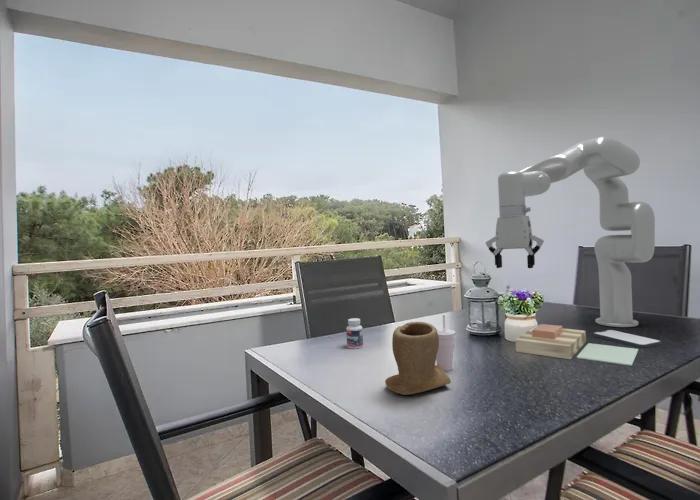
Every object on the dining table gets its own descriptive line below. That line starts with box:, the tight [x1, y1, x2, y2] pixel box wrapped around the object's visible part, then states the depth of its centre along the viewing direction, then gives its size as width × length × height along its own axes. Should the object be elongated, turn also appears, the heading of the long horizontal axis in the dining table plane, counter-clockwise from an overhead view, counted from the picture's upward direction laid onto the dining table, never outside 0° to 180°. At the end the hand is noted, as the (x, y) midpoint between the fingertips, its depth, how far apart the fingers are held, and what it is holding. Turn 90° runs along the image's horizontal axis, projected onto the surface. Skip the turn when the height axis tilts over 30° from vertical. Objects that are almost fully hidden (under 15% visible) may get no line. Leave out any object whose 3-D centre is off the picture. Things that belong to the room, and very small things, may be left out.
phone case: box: [592, 329, 663, 349], centre depth 118 cm, size 9×2×16 cm
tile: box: [532, 323, 564, 339], centre depth 115 cm, size 9×6×2 cm, turn 139°
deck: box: [515, 327, 587, 360], centre depth 115 cm, size 20×14×4 cm
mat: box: [576, 342, 639, 367], centre depth 106 cm, size 16×12×1 cm
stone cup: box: [384, 321, 452, 396], centre depth 88 cm, size 15×12×15 cm
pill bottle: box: [345, 317, 364, 349], centre depth 126 cm, size 5×5×9 cm
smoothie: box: [435, 314, 457, 372], centre depth 100 cm, size 6×6×14 cm
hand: (514, 267), depth 121 cm, fingers open, 9 cm apart
